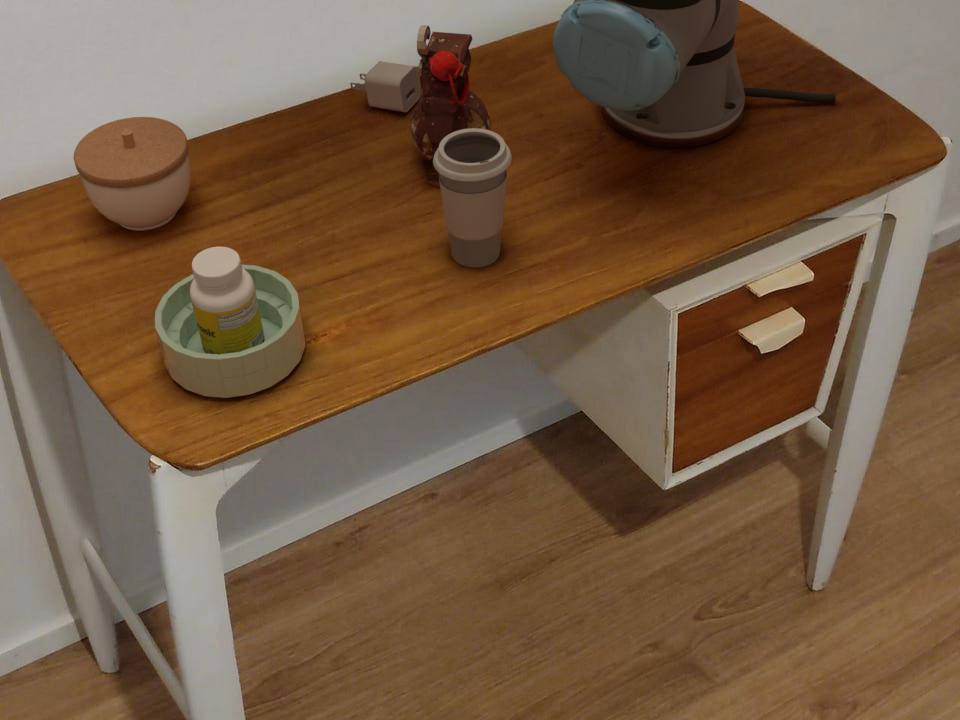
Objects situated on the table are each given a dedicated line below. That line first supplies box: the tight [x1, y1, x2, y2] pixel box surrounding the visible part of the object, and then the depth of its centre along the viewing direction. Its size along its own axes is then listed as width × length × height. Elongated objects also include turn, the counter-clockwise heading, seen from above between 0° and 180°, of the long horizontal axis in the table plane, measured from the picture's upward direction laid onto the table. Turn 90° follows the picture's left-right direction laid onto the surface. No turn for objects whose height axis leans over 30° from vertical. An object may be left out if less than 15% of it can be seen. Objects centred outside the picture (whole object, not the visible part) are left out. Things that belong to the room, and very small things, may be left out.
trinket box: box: [73, 116, 192, 232], centre depth 126 cm, size 11×11×9 cm
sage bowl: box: [154, 263, 306, 399], centre depth 112 cm, size 12×12×5 cm
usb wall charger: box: [349, 60, 421, 113], centre depth 142 cm, size 4×7×4 cm, turn 64°
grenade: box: [410, 24, 492, 188], centre depth 129 cm, size 9×8×15 cm
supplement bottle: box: [190, 246, 265, 355], centre depth 111 cm, size 5×5×10 cm
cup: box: [433, 128, 513, 269], centre depth 119 cm, size 7×7×12 cm
